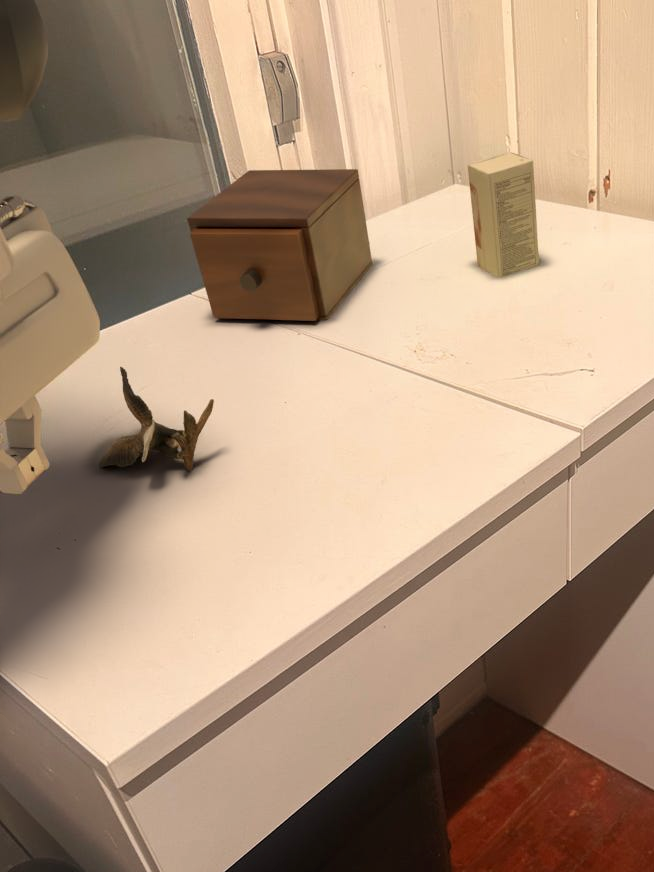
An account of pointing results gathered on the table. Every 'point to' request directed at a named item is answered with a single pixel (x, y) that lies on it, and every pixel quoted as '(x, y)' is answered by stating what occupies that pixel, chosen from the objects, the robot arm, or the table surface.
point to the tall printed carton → (504, 213)
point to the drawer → (256, 272)
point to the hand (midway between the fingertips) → (26, 480)
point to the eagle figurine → (154, 434)
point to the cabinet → (303, 221)
